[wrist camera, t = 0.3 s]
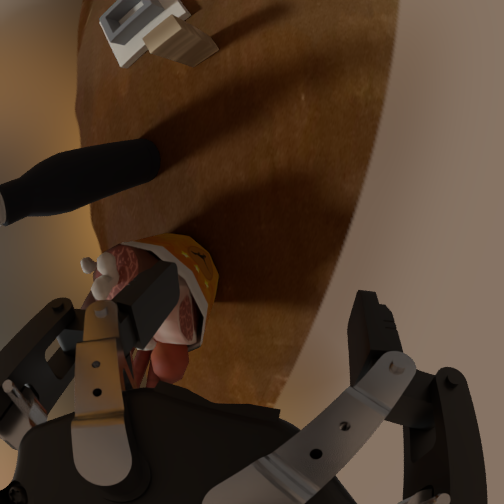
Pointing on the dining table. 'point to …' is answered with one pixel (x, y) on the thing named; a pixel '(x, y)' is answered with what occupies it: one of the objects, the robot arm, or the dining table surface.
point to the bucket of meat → (185, 312)
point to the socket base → (136, 25)
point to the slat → (180, 42)
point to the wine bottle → (78, 179)
